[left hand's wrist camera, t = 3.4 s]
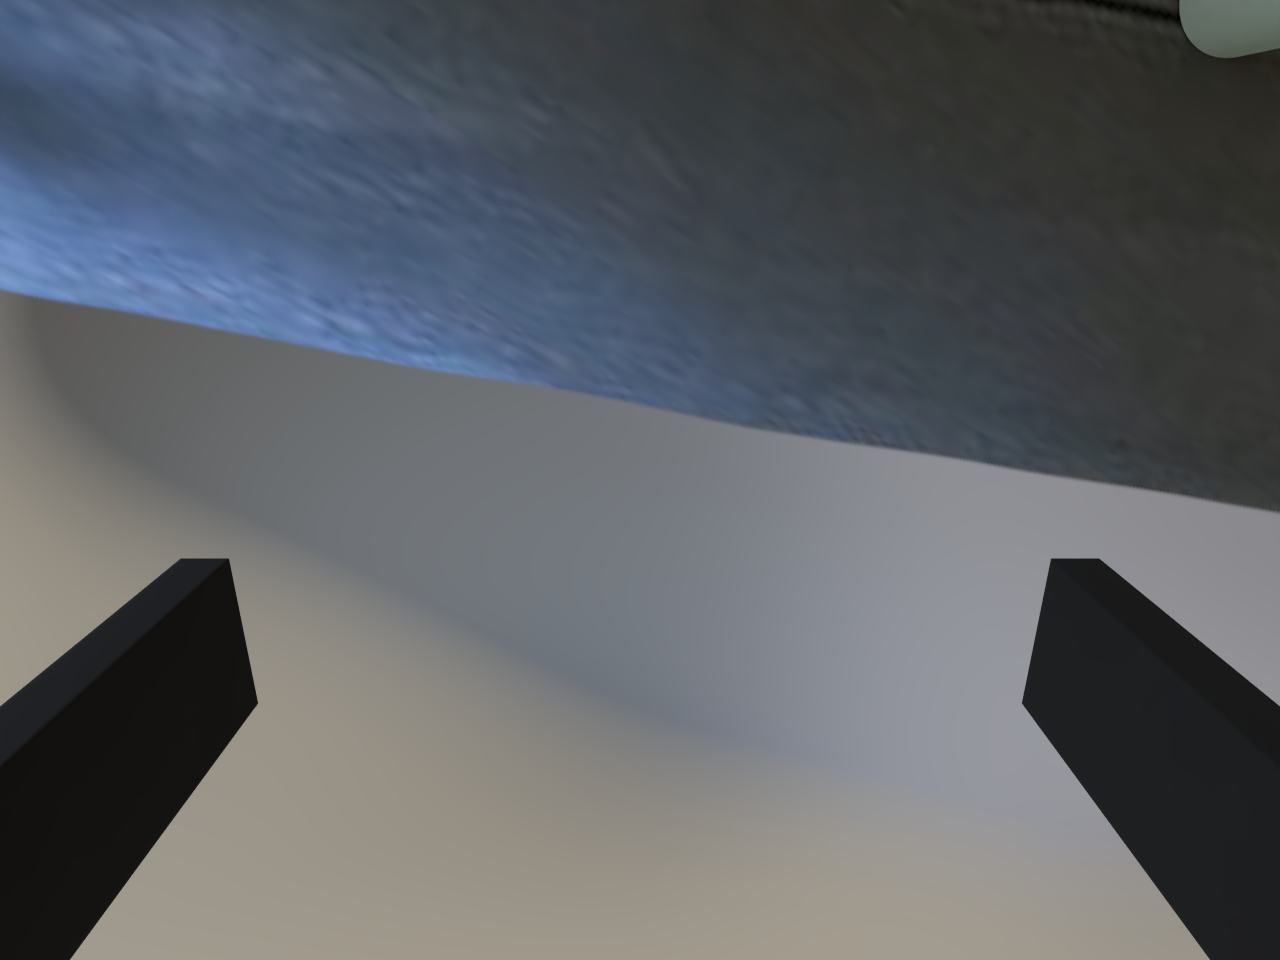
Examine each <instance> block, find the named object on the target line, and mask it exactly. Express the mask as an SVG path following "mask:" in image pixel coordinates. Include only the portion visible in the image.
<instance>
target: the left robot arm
mask: <svg viewBox="0 0 1280 960" xmlns="http://www.w3.org/2000/svg"><path fill="white" fill-rule="evenodd" d="M257 704H258V701H257V696H256V691H255V686H254V681H253V676H252V671H251V666H250V661H249V656H248V651H247V646H246V641H245V636H244V631H243V626H242V621H241V616H240V611H239V606H238V601H237V597H236V592H235V587H234V582H233V577H232V572H231V567H230V562H229V559H180V560H179V561H177V562H176V563H175V564H174V565H172V566H171V567H170V568H169V569H168V570H166V571H165V572H164V573H163V574H161V575H160V576H159V577H158V578H157V579H155V580H154V581H153V582H152V583H150V584H149V585H148V586H147V587H146V588H144V589H143V590H142V591H141V592H139V593H138V594H137V595H136V596H135V597H133V598H132V599H131V600H130V601H128V602H127V603H126V604H125V605H124V606H122V607H121V608H120V609H119V610H117V611H116V612H115V613H114V614H113V615H111V616H110V617H109V618H108V619H106V620H105V621H104V622H103V623H102V624H100V625H99V626H98V627H97V628H95V629H94V630H93V631H92V632H91V633H89V634H88V635H87V636H86V637H84V638H83V639H82V640H81V641H80V642H78V643H77V644H76V645H75V646H73V647H72V648H71V649H70V650H69V651H67V652H66V653H65V654H64V655H62V656H61V657H60V658H59V659H58V660H56V661H55V662H54V663H53V664H51V665H50V666H49V667H48V668H47V669H45V670H44V671H43V672H42V673H40V674H39V675H38V676H37V677H36V678H34V679H33V680H32V681H31V682H30V683H28V684H27V685H26V686H25V687H23V688H22V689H21V690H20V691H19V692H17V693H16V694H15V695H14V696H12V697H11V698H10V699H9V700H7V701H6V702H5V703H4V704H3V705H1V706H0V960H70V959H71V957H72V956H73V955H74V953H75V952H76V951H77V949H78V948H79V947H80V945H81V944H82V942H83V941H84V940H85V938H86V937H87V936H88V934H89V933H90V932H91V930H92V929H93V927H94V926H95V925H96V923H97V922H98V921H99V919H100V918H101V917H102V915H103V914H104V912H105V911H106V910H107V908H108V907H109V906H110V904H111V903H112V902H113V900H114V899H115V897H116V896H117V895H118V893H119V892H120V891H121V889H122V888H123V887H124V885H125V884H126V883H127V881H128V880H129V878H130V877H131V876H132V874H133V873H134V872H135V870H136V869H137V868H138V866H139V865H140V863H141V862H142V861H143V859H144V858H145V857H146V855H147V854H148V853H149V851H150V850H151V848H152V847H153V846H154V844H155V843H156V842H157V840H158V839H159V838H160V836H161V835H162V833H163V832H164V831H165V829H166V828H167V827H168V825H169V824H170V823H171V821H172V820H173V818H174V817H175V816H176V814H177V813H178V812H179V810H180V809H181V808H182V806H183V805H184V803H185V802H186V801H187V799H188V798H189V797H190V795H191V794H192V793H193V791H194V790H195V788H196V787H197V786H198V784H199V783H200V782H201V780H202V779H203V778H204V776H205V775H206V774H207V772H208V771H209V769H210V768H211V767H212V765H213V764H214V763H215V761H216V760H217V759H218V757H219V756H220V754H221V753H222V752H223V750H224V749H225V748H226V746H227V745H228V744H229V742H230V741H231V739H232V738H233V737H234V735H235V734H236V733H237V731H238V730H239V729H240V727H241V726H242V724H243V723H244V722H245V720H246V719H247V718H248V716H249V715H250V714H251V712H252V711H253V709H254V708H255V707H256V705H257ZM1022 704H1023V705H1024V707H1025V708H1026V709H1027V711H1028V712H1029V713H1030V715H1031V716H1032V718H1033V719H1034V720H1035V722H1036V723H1037V724H1038V726H1039V727H1040V729H1041V730H1042V731H1043V733H1044V734H1045V735H1046V737H1047V738H1048V739H1049V741H1050V742H1051V743H1052V745H1053V746H1054V748H1055V749H1056V750H1057V752H1058V753H1059V754H1060V756H1061V757H1062V758H1063V760H1064V761H1065V763H1066V764H1067V765H1068V767H1069V768H1070V769H1071V771H1072V772H1073V773H1074V775H1075V776H1076V778H1077V779H1078V780H1079V782H1080V783H1081V784H1082V786H1083V787H1084V788H1085V790H1086V791H1087V793H1088V794H1089V795H1090V797H1091V798H1092V799H1093V801H1094V802H1095V803H1096V805H1097V806H1098V808H1099V809H1100V810H1101V812H1102V813H1103V814H1104V816H1105V817H1106V818H1107V820H1108V821H1109V823H1110V824H1111V825H1112V827H1113V828H1114V829H1115V831H1116V832H1117V833H1118V835H1119V836H1120V837H1121V839H1122V840H1123V842H1124V843H1125V844H1126V846H1127V847H1128V848H1129V850H1130V851H1131V853H1132V854H1133V855H1134V857H1135V858H1136V859H1137V861H1138V862H1139V863H1140V865H1141V866H1142V867H1143V869H1144V870H1145V872H1146V873H1147V874H1148V876H1149V877H1150V878H1151V880H1152V881H1153V882H1154V884H1155V885H1156V887H1157V888H1158V889H1159V891H1160V892H1161V893H1162V895H1163V896H1164V897H1165V899H1166V900H1167V902H1168V903H1169V904H1170V906H1171V907H1172V908H1173V910H1174V911H1175V912H1176V914H1177V915H1178V917H1179V918H1180V919H1181V921H1182V922H1183V923H1184V925H1185V926H1186V927H1187V929H1188V930H1189V931H1190V933H1191V934H1192V936H1193V937H1194V938H1195V940H1196V941H1197V942H1198V944H1199V945H1200V947H1201V948H1202V949H1203V951H1204V952H1205V953H1206V955H1207V956H1208V957H1209V959H1210V960H1280V706H1279V705H1277V704H1276V703H1275V702H1274V701H1273V700H1271V699H1270V698H1269V697H1268V696H1266V695H1265V694H1264V693H1263V692H1262V691H1260V690H1259V689H1258V688H1257V687H1255V686H1254V685H1253V684H1252V683H1250V682H1249V681H1248V680H1247V679H1246V678H1244V677H1243V676H1242V675H1241V674H1239V673H1238V672H1237V671H1236V670H1235V669H1233V668H1232V667H1231V666H1230V665H1229V664H1227V663H1226V662H1225V661H1224V660H1222V659H1221V658H1220V657H1219V656H1217V655H1216V654H1215V653H1214V652H1213V651H1211V650H1210V649H1209V648H1208V647H1207V646H1205V645H1204V644H1203V643H1202V642H1200V641H1199V640H1198V639H1197V638H1196V637H1194V636H1193V635H1192V634H1191V633H1189V632H1188V631H1187V630H1186V629H1185V628H1183V627H1182V626H1181V625H1180V624H1178V623H1177V622H1176V621H1175V620H1174V619H1172V618H1171V617H1170V616H1169V615H1167V614H1166V613H1165V612H1164V611H1163V610H1161V609H1160V608H1159V607H1158V606H1156V605H1155V604H1154V603H1153V602H1152V601H1150V600H1149V599H1148V598H1147V597H1145V596H1144V595H1143V594H1142V593H1141V592H1139V591H1138V590H1137V589H1136V588H1134V587H1133V586H1132V585H1131V584H1130V583H1128V582H1127V581H1126V580H1125V579H1123V578H1122V577H1121V576H1120V575H1119V574H1117V573H1116V572H1115V571H1114V570H1112V569H1111V568H1110V567H1109V566H1108V565H1106V564H1105V563H1104V562H1103V561H1101V560H1100V559H1051V562H1050V567H1049V572H1048V577H1047V582H1046V587H1045V592H1044V597H1043V602H1042V606H1041V611H1040V616H1039V621H1038V627H1037V631H1036V636H1035V641H1034V646H1033V651H1032V656H1031V661H1030V666H1029V671H1028V676H1027V681H1026V686H1025V691H1024V696H1023V701H1022Z"/></svg>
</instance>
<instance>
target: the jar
mask: <svg viewBox="0 0 1280 960" xmlns="http://www.w3.org/2000/svg"><path fill="white" fill-rule="evenodd" d="M1179 11H1180V19H1181V23H1182V26H1183V29H1184V31H1185V33H1186V35H1187V37H1188V39H1189V40H1190V41H1191V43H1192V44H1193V45H1194V46H1195V47H1196V48H1198V49H1199V50H1201V51H1202V52H1204V53H1206V54H1208V55H1210V56H1214V57H1219V58H1234V57H1240V56H1245V55H1249V54H1254V53H1259V52H1264V51H1268V50H1273V49H1278V48H1280V0H1180V1H1179Z"/></svg>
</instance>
